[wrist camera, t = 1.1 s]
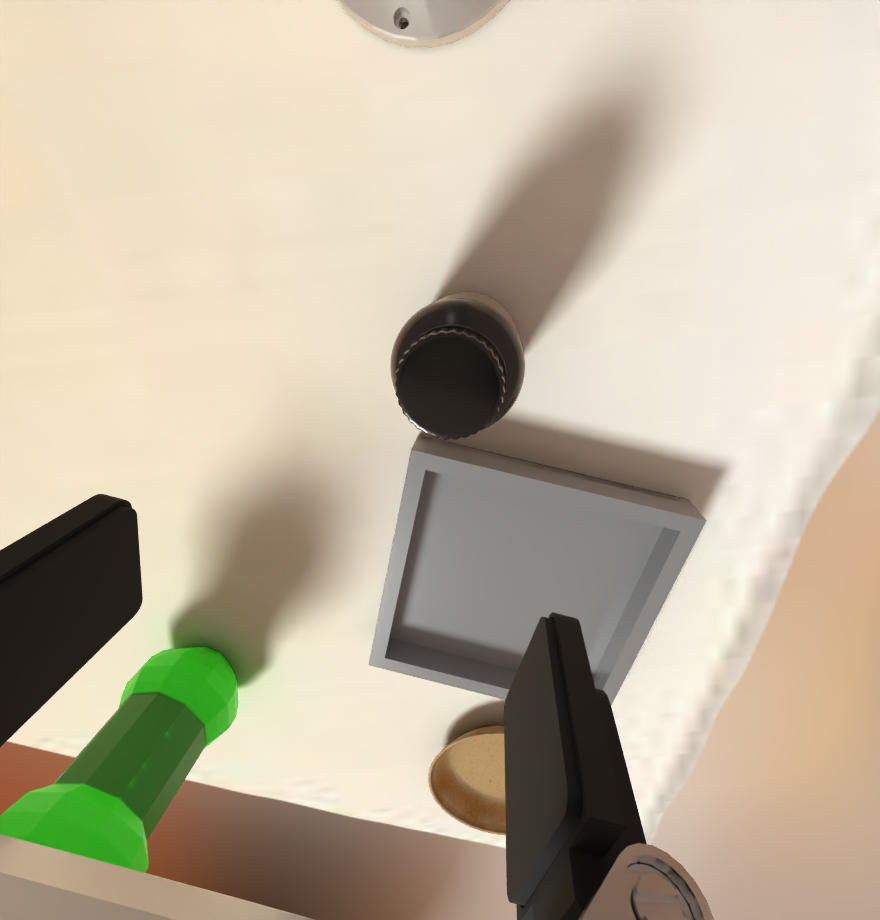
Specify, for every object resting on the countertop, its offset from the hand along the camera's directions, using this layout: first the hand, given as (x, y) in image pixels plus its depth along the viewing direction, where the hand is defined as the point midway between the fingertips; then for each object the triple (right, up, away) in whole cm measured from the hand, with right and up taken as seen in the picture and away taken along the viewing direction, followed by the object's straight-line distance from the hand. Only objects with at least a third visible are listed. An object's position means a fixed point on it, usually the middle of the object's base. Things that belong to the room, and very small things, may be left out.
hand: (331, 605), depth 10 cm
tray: (+9, -6, +26) cm, 28 cm away
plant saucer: (+9, -27, +35) cm, 45 cm away
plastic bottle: (-21, -17, +35) cm, 44 cm away
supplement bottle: (+4, +11, +20) cm, 23 cm away
